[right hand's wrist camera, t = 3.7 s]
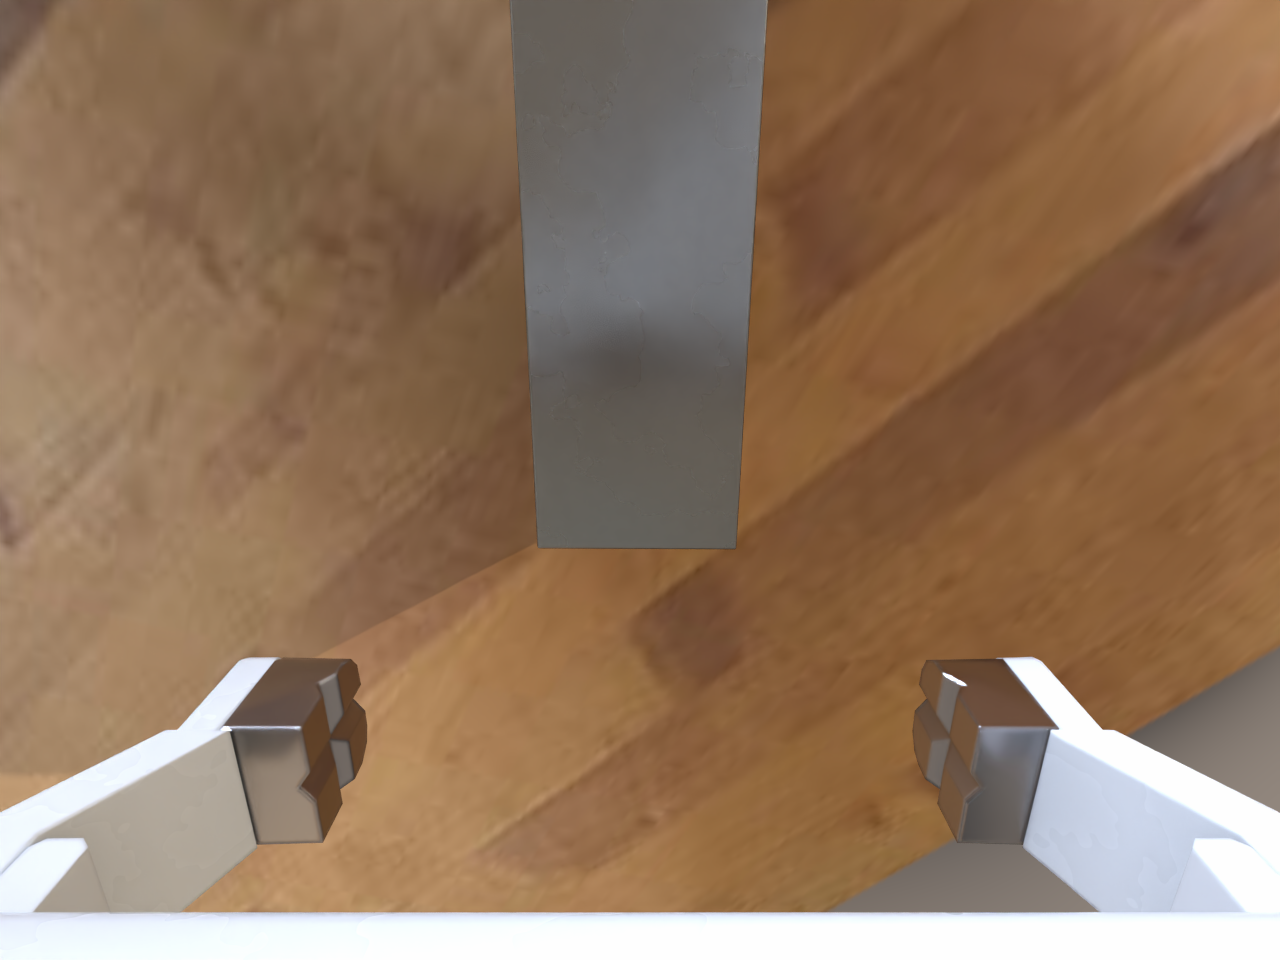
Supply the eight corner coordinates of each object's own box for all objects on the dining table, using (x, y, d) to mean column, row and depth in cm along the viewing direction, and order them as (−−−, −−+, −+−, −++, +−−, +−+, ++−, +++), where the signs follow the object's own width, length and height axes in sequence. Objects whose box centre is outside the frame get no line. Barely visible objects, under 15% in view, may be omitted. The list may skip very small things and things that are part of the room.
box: (710, 453, 30) (736, 549, 22) (565, 452, 30) (537, 548, 22) (751, -508, 20) (826, -987, 12) (532, -509, 20) (459, -989, 12)
